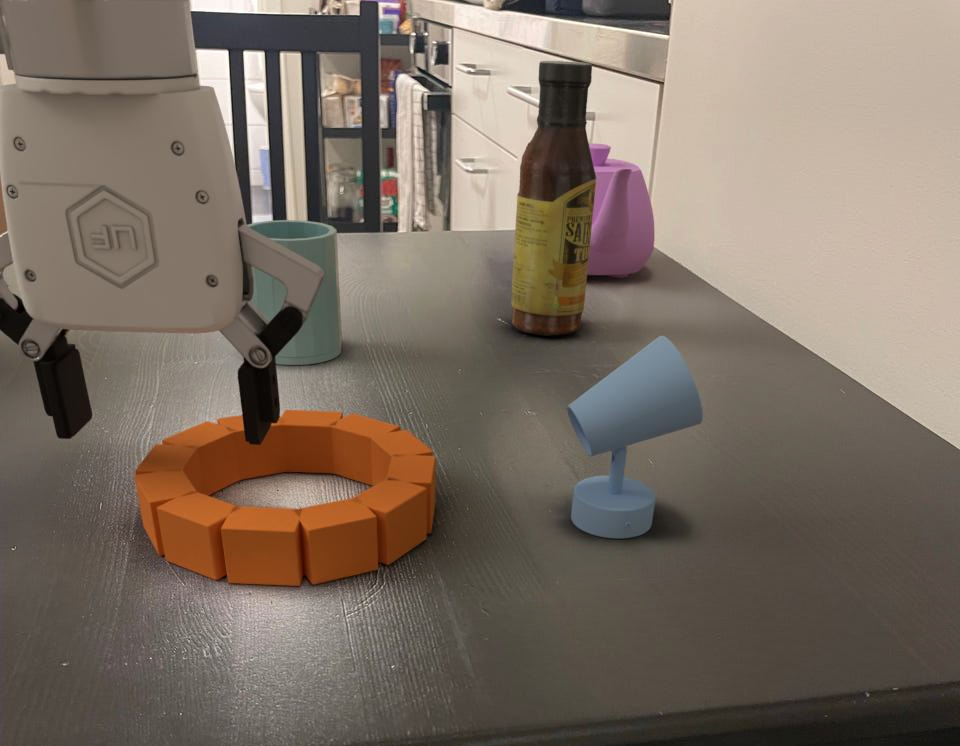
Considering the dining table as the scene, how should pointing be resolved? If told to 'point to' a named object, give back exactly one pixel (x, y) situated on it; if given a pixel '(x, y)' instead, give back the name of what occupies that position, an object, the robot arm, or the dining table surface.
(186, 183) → the robot arm
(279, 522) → the ring
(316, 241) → the teal cup
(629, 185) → the teapot
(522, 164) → the sauce bottle
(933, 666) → the dining table surface
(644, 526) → the spotlight
